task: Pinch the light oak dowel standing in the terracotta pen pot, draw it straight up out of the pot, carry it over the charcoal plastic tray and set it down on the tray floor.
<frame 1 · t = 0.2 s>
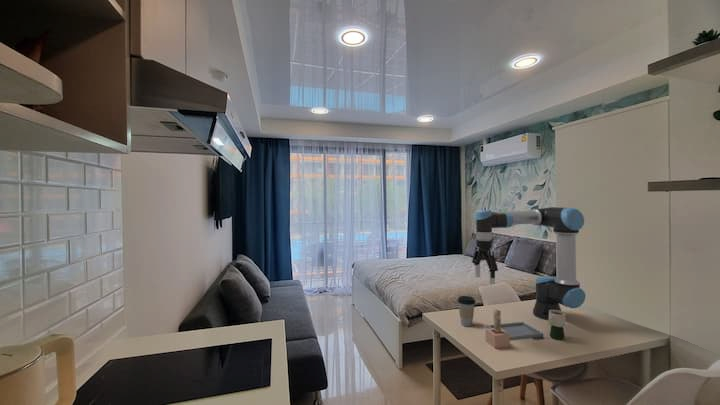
hand: (484, 280, 161), 28 cm above the table, fingers open, 13 cm apart
tray: (513, 333, 161), on the table
character mug: (557, 338, 155), on the table
dowel: (497, 343, 148), point 1 cm above the table, touching pot
pot: (497, 345, 148), on the table
coffee cup: (466, 325, 173), on the table
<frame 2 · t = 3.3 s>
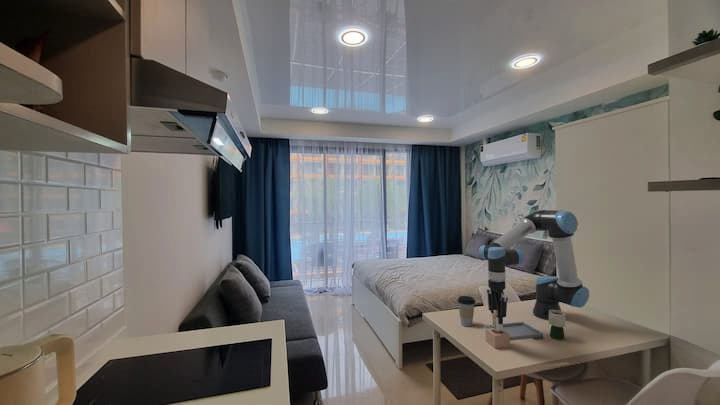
hand: (497, 328, 148), 9 cm above the table, fingers closed on dowel, 3 cm apart
dowel: (497, 343, 148), point 1 cm above the table, touching gripper
everything else where it was.
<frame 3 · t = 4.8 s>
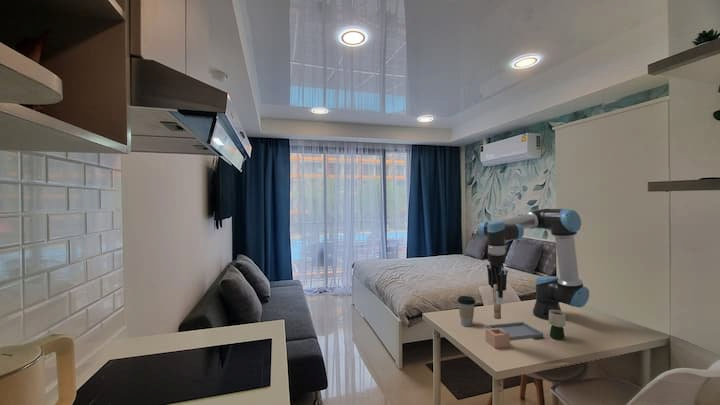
hand: (497, 302, 148), 21 cm above the table, fingers closed on dowel, 3 cm apart
dowel: (497, 317, 148), point 14 cm above the table, touching gripper
everything else where it was.
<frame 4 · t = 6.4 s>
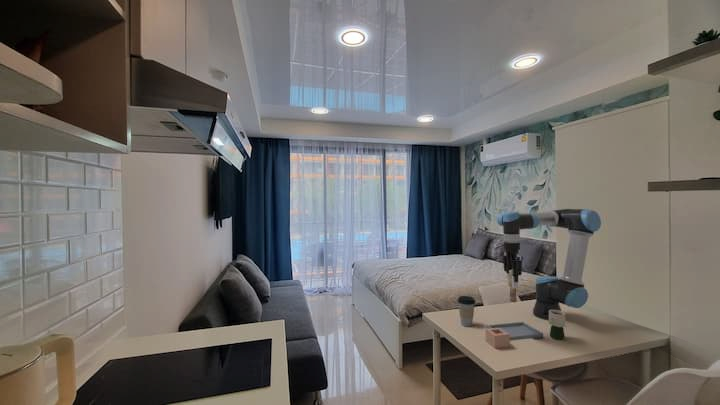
hand: (512, 286, 159), 25 cm above the table, fingers closed on dowel, 3 cm apart
dowel: (513, 301, 159), point 17 cm above the table, touching gripper
everything else where it was.
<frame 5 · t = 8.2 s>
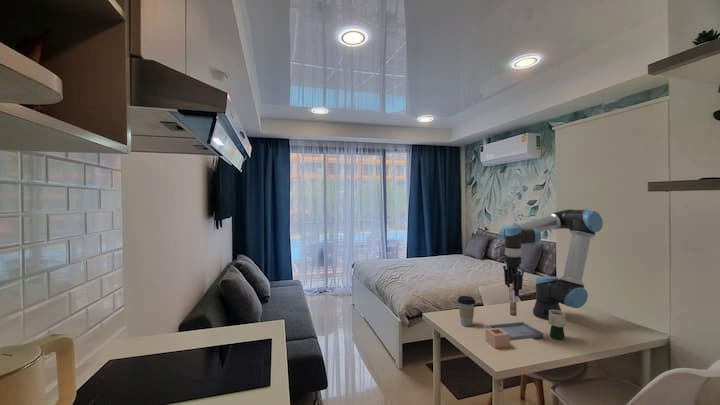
hand: (513, 300, 160), 17 cm above the table, fingers closed on dowel, 3 cm apart
dowel: (513, 314, 160), point 10 cm above the table, touching gripper
everything else where it was.
when the fingers open (9 cm above the table, at t = 9.9 s): dowel drops 2 cm, resting on tray.
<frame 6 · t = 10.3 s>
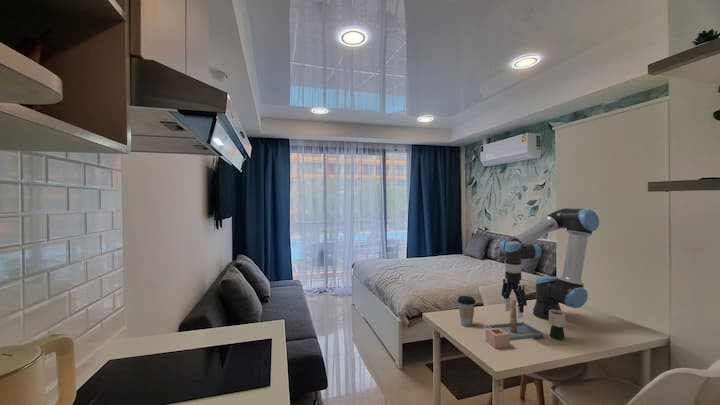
hand: (513, 314, 160), 10 cm above the table, fingers open, 9 cm apart
dowel: (513, 331, 161), point 1 cm above the table, touching tray
everything else where it was.
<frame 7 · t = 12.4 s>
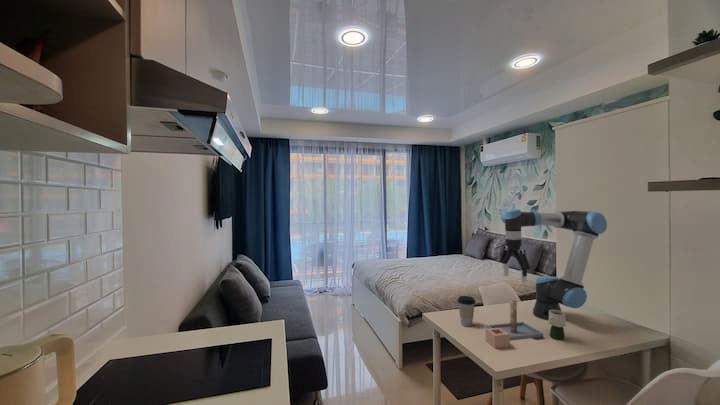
hand: (514, 278, 162), 28 cm above the table, fingers open, 13 cm apart
nothing on the table moved.
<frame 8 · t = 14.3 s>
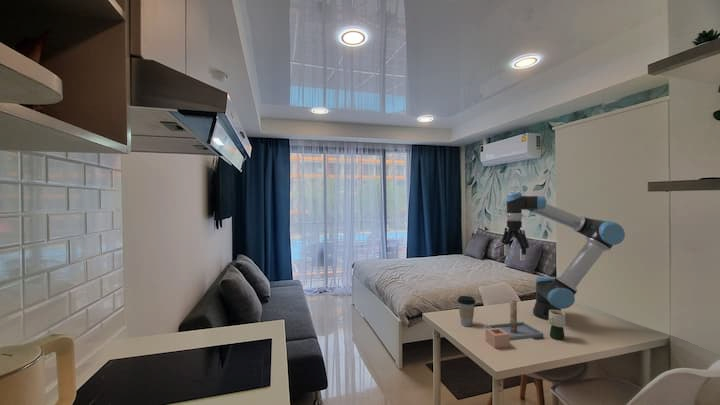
hand: (514, 257, 174), 37 cm above the table, fingers open, 13 cm apart
nothing on the table moved.
at the end: dowel inside the target area on the tray (0.0 cm from its centre), point 1.0 cm above the tray's base; the gripper is holding nothing; dowel touching tray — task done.
